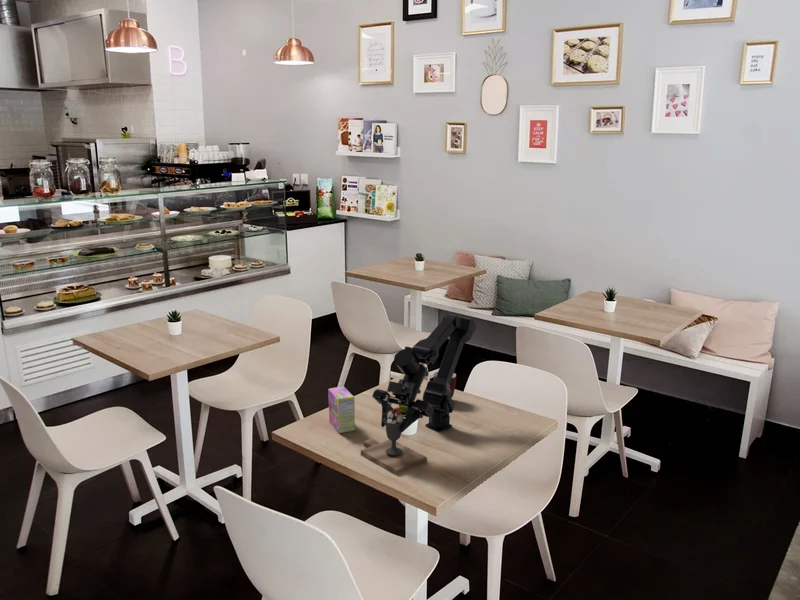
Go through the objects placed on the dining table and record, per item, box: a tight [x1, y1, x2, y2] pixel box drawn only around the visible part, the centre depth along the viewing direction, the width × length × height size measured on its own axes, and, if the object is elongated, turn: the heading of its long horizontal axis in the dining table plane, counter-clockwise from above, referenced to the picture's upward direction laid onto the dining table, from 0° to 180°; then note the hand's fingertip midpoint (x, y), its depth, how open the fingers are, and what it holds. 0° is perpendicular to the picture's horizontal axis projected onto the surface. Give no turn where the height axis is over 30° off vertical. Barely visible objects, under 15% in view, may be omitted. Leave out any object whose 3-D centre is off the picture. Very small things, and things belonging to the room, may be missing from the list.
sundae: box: [381, 404, 405, 455], centre depth 194 cm, size 7×7×15 cm
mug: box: [433, 371, 457, 400], centre depth 238 cm, size 11×8×10 cm
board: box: [360, 438, 428, 476], centre depth 198 cm, size 20×12×2 cm, turn 42°
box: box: [327, 386, 356, 434], centre depth 217 cm, size 10×6×12 cm, turn 23°
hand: (391, 429), depth 193 cm, fingers closed on sundae, 6 cm apart
